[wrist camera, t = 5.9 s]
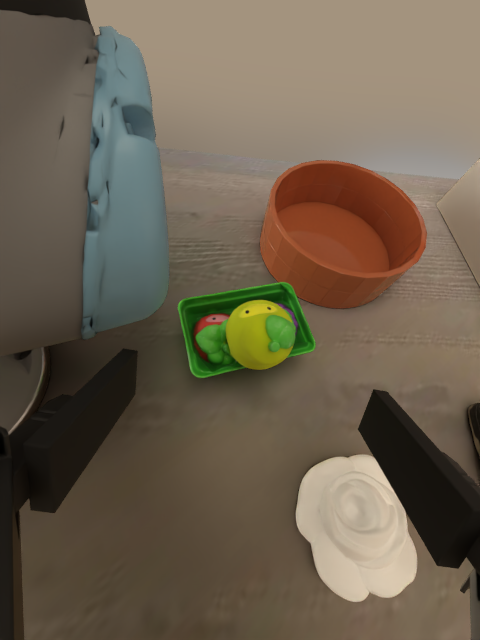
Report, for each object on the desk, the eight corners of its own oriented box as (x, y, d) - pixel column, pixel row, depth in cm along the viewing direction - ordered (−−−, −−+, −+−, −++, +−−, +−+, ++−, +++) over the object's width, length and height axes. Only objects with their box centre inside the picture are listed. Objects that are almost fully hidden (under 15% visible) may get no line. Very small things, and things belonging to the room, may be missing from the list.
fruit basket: (278, 304, 31) (312, 234, 21) (305, 376, 27) (363, 334, 17) (181, 323, 28) (166, 254, 18) (197, 405, 25) (190, 377, 15)
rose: (435, 668, 16) (289, 574, 17) (389, 623, 20) (274, 549, 21) (454, 491, 20) (336, 426, 21) (413, 484, 24) (316, 429, 25)
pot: (238, 273, 32) (245, 235, 26) (283, 187, 40) (296, 143, 34) (380, 331, 31) (420, 304, 25) (397, 229, 39) (430, 191, 33)
